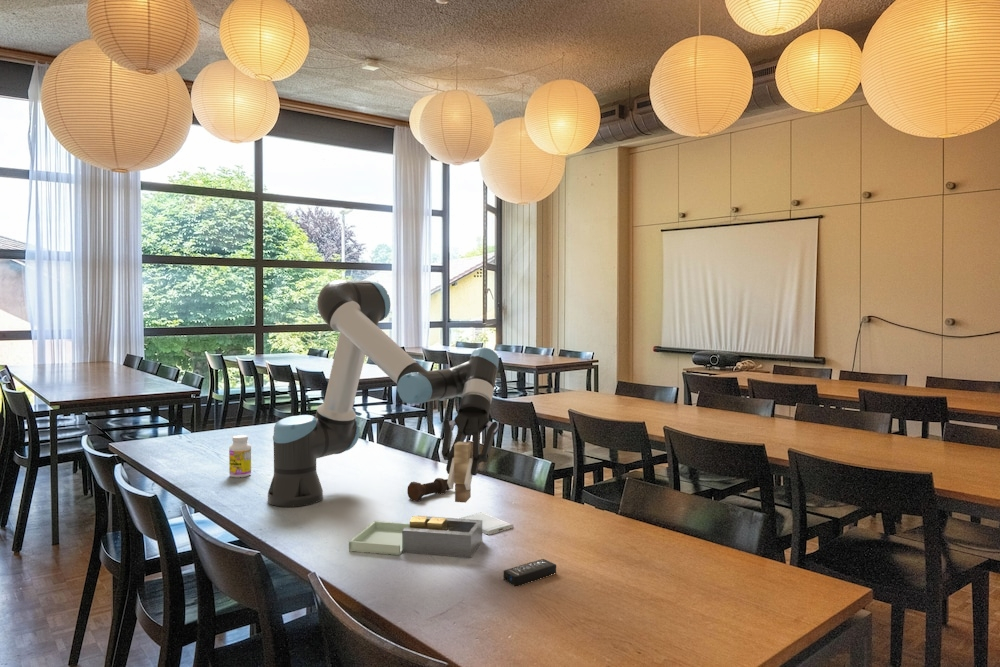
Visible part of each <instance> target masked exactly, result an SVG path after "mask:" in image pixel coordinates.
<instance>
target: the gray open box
mask: <svg viewBox="0 0 1000 667" xmlns="http://www.w3.org/2000/svg"><path fill="white" fill-rule="evenodd" d="M421 516H422V517H427V522H428V521H429V520H430V519H431V518H432V517H433V516H430V515H429V516H428V515H421ZM434 517H435V518H445V516H444V517H443V516H442V517H441V516H434ZM446 518H447V531H444V530H431V529H417V528H404V529H403V530H402V553H405V552H407V554H408V553H409V554H419V555H432V556H445V557H453V558H454V557H455V558H466V559H467V558H468V559H471V558H472V557H473V556H474V554H475V552H476V551H477V550H478V549H479V547H480V545H481V544H482V542H483V532H482V520H472V519H459V518H458V517H457V518H456V517H455V518H454V517H446Z"/></svg>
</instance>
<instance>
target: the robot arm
mask: <svg viewBox="0 0 1000 667" xmlns="http://www.w3.org/2000/svg"><path fill="white" fill-rule="evenodd" d="M316 302H317V304H316V306H317V309H318V313H319V316H321V319H322V320H323V321H324V323H326V325H327V326H329V328H331V329H332V330H333V331H334V332H338V333H339V335H338V339H337V344H336V348H335V352H334V357H333V362H332V365H331V369H330V370H331V371H330V374H329V379H328V382H327V383H328V384H327V387H326V392H325V396H324V400H323V403H322V404H320V405H319V406H317V408H316V412H315V416H314V415H310V414H299V415H292V416H287V417H285V418H281V419H279V420H278V421H276V423H275V424H274V426H273V436H272V441H273V476H272V480H271V483H270V484H269V488H268V492H267V503H268V504H269V505H272V506H275V507H282V508H285V507H286V508H289V507H290V508H292V507H302V506H303V507H304V506H309V505H313V504H316V503H318V502H320V501H321V500H323V498H324V495H323V494H324V491H323V487H322V484H321V481H320V478H319V474H318V472H317V459H320V458H324V457H328V456H333V455H339V454H342V453H345V452H347V451H349V450H351V449H353V448H354V447H355V446H356V444H357V442H358V441H359V438H360V434H361V433H360V432H361V429H360V426H359V421H358V419H357V418H356V417H357V414H356V412H355V411H354V409H353V408H354V404H355V400H356V395H357V391H358V387H359V382H360V379H361V374H362V371H363V366H364V361H365V357H368V359H370V360H371V362H373V363H374V364H375V366H377V367H378V368H379V369H380V370H381V371H382V372H383V373H384V374H386V376H387V377H389V378H390V379H391V380H392V381H393V382H394V383H395V384H396V386H397V387H396V388H397V389H396V390H397V394H398V395H399V398H400V399H401V401H402V402H404V403H405V404H409V405H415V404H416V405H417V404H418V405H419V404H425V403H427V402H432V401H441V402H442V401H447V400H452V399H454V398H455V397H458V396H461V399H460V401H459V402H460V403H459V407H458V412H457V415H456V416H455V417H454V419H452V420H448V419H444V420H443V425H444V435H443V441H442V447H441V455H442V459H443V460H444V461H447V463H446V468H445V470H446V473H447V475H448V477H447V479H448V481H447V484H448V486H449V489H450V490H453V489H454V486H455V484H454V444H455V443H457V442H465V441H466V438H467V437H468V436H472V454H471V458H469V462H468V467H467V472H466V477H465V482H464V484H465V487H466V490H470V485H472V480H473V476H477V474H478V471H479V466H480V465H479V464H481V463H483V462H484V463H487V462H488V461H489V456H490V455H491V454H490V453H491V450H492V446H493V443H494V438H495V435H496V434H497V433H498V432H499V430H500V429H499V426H498V422H497V421H490V413H491V407H492V401H493V395H494V391H495V390H494V389H495V387H496V386H495V384H496V380H497V376H498V372H499V362H500V359H499V355H498V354H497V353H496V352H495V351H494V350H493V349H491V348H488V347H478V348H475V349H474V350H473V351H472V352H471V355H470V356H469V360H468V361H466V362H463V363H461V364H458V365H455V366H452V367H449V368H443V369H436V370H426V368H424V366H422V365H421V364H419V363H418V362H417V361H416V360H415V359H414V358H413V357H412V356H411V355H410V354H409V353H407V352H406V351H405V350H404V349H403V348H402V347H401V346H400V345H399V344H398V343H397V342H395V341H394V340H393V339H392V338H391V337H390V336H389V335H388V334H386V333H385V332H384V330H382V329H381V328H380V327H379V326H378V325H379V322H382V321H383V320H385V319H386V318H387V317H388V316H389V313H390V310H391V298H390V295H389V294H388V291H387V290H386V288H385V287H384V286H383V285H382V284H380V283H378V282H375V281H370V280H345V279H337V280H336V279H335V280H332V281H330V282H328V283H327V284H325V286H324V287H323V288H321V290H320V292H319V293H318V297H317V300H316ZM455 426H456V427H457V433H456V437H455V439H454V441H453V443H452V436H453V431H454V429H455ZM486 428H487V432H486V435H485V439H484V442H483V447H482V450H481V433H482V432H483V431H484V430H485V429H486ZM451 445H452V446H451Z"/></svg>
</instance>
